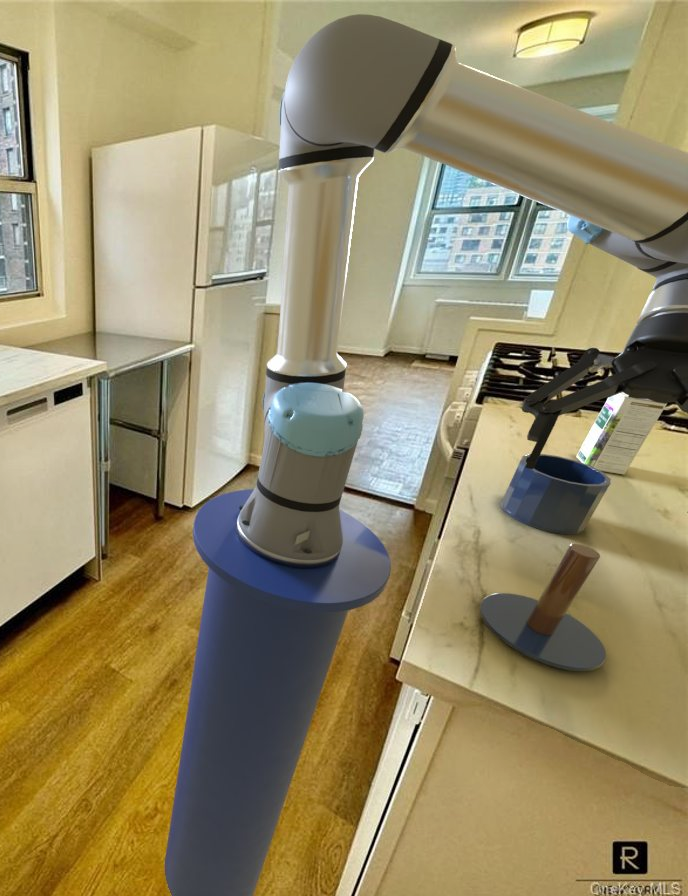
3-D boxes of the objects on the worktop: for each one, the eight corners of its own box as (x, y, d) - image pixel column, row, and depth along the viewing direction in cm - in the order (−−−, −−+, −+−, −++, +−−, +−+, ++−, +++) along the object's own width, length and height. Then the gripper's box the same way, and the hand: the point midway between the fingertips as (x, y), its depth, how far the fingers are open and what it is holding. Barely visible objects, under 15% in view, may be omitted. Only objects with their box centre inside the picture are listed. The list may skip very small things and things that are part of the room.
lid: (468, 633, 56) (510, 550, 50) (486, 586, 63) (524, 508, 57) (599, 694, 49) (664, 605, 43) (603, 634, 56) (659, 551, 50)
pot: (495, 514, 77) (516, 468, 74) (505, 491, 84) (526, 448, 80) (581, 543, 71) (609, 494, 67) (585, 515, 77) (611, 469, 74)
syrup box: (574, 456, 96) (610, 387, 89) (614, 463, 94) (653, 392, 87) (584, 468, 91) (623, 396, 85) (626, 475, 89) (669, 402, 82)
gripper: (548, 296, 62) (476, 437, 60) (893, 328, 45) (809, 524, 44) (538, 330, 67) (472, 460, 66) (842, 369, 51) (766, 544, 49)
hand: (607, 486), depth 55 cm, fingers open, 13 cm apart
